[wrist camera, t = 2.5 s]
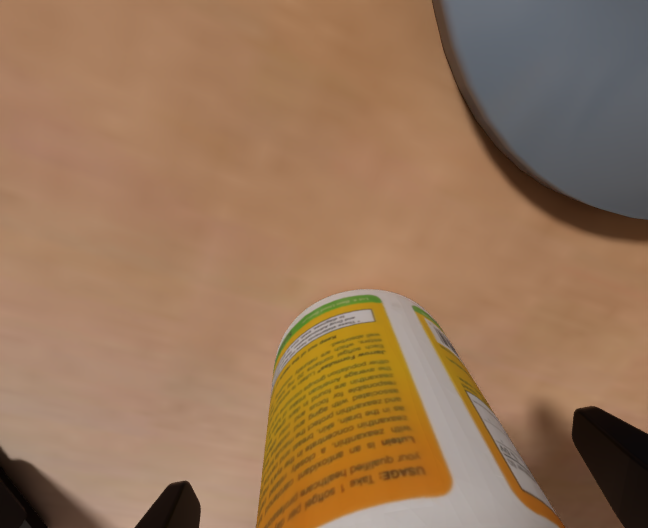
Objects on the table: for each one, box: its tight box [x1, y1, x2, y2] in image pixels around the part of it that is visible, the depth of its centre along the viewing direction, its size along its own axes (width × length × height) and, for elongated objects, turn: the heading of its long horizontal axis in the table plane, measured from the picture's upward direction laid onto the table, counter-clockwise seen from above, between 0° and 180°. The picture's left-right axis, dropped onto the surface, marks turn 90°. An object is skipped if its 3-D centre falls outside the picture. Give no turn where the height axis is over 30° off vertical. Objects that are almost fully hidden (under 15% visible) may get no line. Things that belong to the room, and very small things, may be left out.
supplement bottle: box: [256, 289, 565, 528], centre depth 7 cm, size 5×5×10 cm
